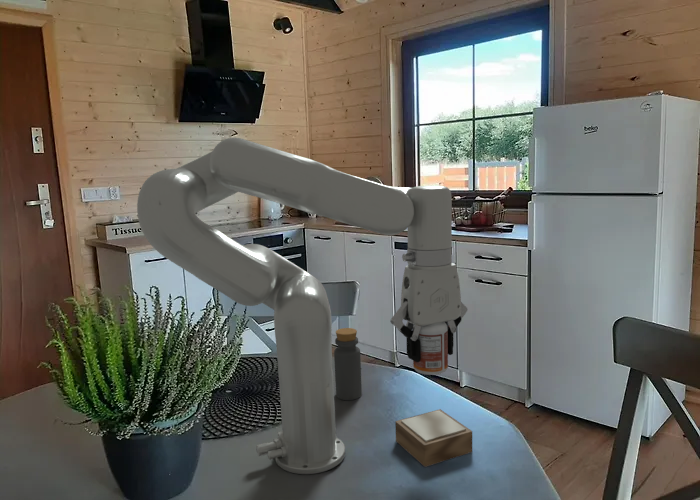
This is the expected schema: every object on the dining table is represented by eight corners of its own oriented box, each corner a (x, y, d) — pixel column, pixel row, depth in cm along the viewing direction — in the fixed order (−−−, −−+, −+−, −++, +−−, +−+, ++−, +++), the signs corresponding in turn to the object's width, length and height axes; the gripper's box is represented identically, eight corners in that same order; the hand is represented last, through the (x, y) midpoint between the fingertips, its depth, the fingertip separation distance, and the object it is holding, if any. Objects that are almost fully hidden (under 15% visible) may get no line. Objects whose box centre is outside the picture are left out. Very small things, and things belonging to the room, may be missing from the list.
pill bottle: (429, 360, 103) (428, 303, 102) (455, 369, 99) (455, 309, 97) (406, 369, 100) (405, 309, 98) (432, 378, 95) (431, 316, 93)
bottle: (333, 391, 127) (330, 329, 124) (357, 387, 128) (354, 325, 126) (340, 402, 121) (337, 336, 119) (365, 397, 123) (363, 333, 120)
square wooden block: (424, 466, 95) (424, 443, 94) (395, 441, 104) (395, 419, 103) (472, 452, 99) (472, 429, 98) (440, 428, 108) (440, 407, 107)
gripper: (398, 266, 89) (399, 372, 92) (483, 255, 96) (482, 353, 99) (375, 259, 95) (377, 358, 98) (456, 249, 103) (456, 341, 106)
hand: (430, 355), depth 99 cm, fingers closed on pill bottle, 6 cm apart
